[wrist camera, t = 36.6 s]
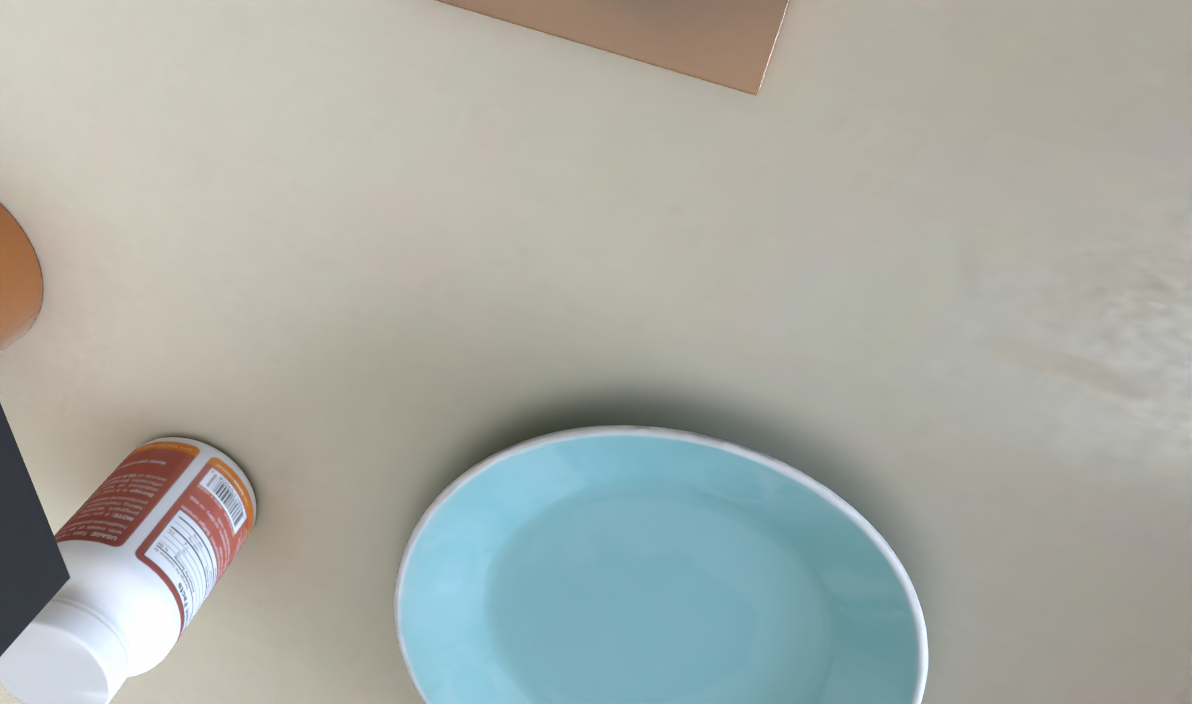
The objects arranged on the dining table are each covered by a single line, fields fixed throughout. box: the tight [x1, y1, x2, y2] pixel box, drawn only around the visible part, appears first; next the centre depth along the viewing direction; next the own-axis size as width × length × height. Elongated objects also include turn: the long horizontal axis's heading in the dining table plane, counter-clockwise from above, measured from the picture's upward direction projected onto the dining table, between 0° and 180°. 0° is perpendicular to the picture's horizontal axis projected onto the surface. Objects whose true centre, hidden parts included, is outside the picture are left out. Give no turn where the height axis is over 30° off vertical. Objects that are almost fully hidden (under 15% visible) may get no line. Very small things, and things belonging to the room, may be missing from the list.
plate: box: [394, 425, 928, 704], centre depth 46 cm, size 22×22×3 cm
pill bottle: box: [0, 437, 257, 704], centre depth 43 cm, size 6×6×11 cm
